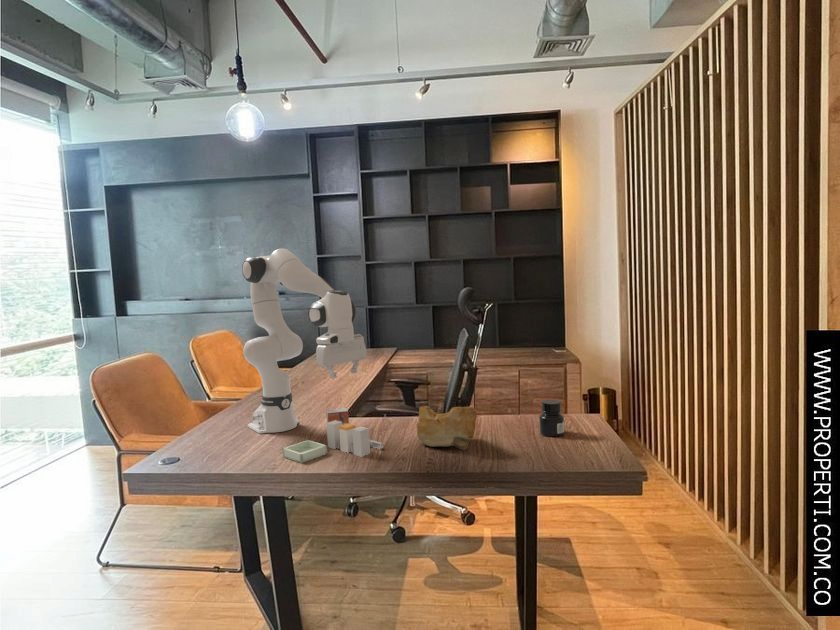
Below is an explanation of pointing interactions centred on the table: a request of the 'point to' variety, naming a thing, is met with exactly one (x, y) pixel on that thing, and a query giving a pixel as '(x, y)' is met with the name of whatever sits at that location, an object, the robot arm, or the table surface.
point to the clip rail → (372, 444)
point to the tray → (304, 451)
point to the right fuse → (361, 441)
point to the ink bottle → (551, 419)
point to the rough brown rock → (446, 427)
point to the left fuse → (333, 433)
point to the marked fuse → (346, 437)
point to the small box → (338, 415)
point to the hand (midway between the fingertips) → (343, 375)
